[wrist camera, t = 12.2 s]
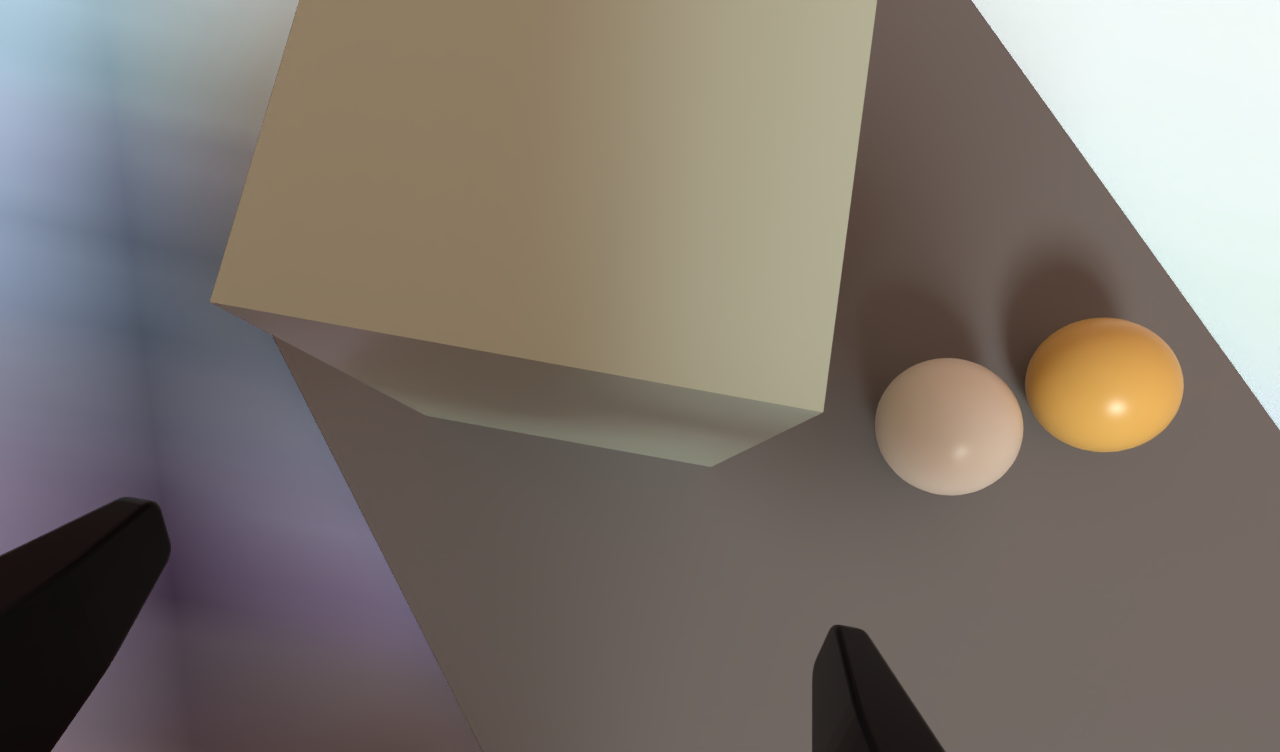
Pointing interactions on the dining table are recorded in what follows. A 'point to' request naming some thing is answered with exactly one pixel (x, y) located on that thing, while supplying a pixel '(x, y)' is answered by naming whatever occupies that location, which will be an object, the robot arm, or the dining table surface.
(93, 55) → the dining table surface
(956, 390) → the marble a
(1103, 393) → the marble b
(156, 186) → the dining table surface
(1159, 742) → the mat
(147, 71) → the dining table surface
